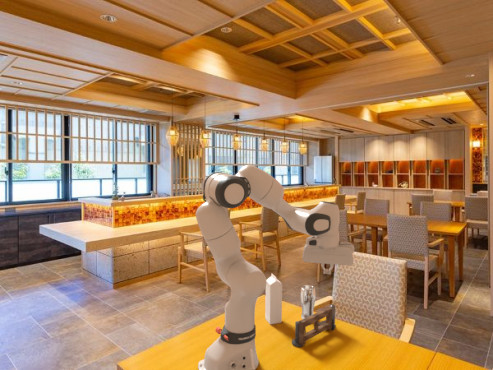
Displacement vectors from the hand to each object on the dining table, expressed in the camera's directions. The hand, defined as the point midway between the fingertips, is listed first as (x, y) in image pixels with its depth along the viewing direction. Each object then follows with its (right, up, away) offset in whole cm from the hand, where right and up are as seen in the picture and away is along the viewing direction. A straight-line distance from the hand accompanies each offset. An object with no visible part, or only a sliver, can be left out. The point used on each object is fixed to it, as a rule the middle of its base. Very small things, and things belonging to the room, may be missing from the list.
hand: (327, 273), depth 136 cm
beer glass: (-4, -28, +23) cm, 36 cm away
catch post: (-12, -29, +1) cm, 31 cm away
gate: (-3, -28, +5) cm, 28 cm away
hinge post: (+4, -28, +15) cm, 32 cm away
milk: (-20, -28, +20) cm, 40 cm away
